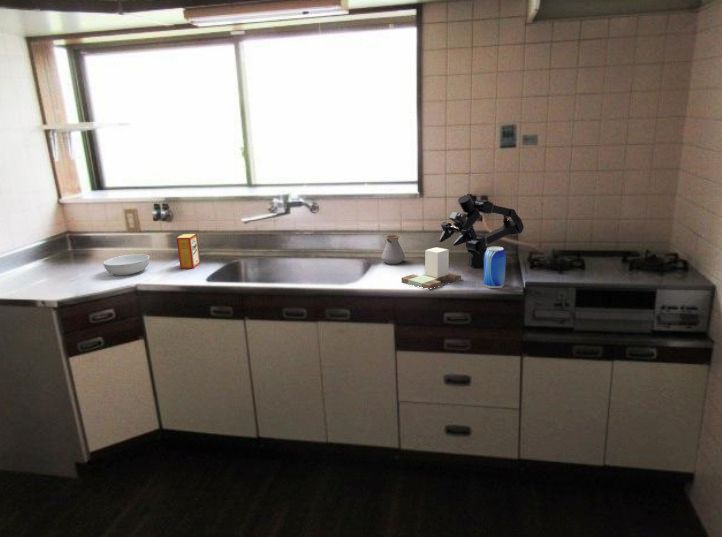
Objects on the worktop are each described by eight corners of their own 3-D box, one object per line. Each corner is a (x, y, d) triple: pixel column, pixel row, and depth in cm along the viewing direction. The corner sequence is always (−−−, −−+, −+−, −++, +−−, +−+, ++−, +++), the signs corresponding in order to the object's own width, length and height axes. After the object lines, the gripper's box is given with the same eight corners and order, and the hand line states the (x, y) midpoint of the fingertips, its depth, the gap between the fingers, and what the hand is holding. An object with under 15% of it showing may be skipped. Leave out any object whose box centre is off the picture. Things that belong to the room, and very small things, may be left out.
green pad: (422, 279, 230) (422, 275, 229) (436, 283, 224) (436, 278, 223) (408, 284, 224) (408, 279, 224) (422, 288, 218) (422, 283, 218)
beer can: (492, 282, 223) (493, 244, 218) (508, 286, 216) (510, 248, 212) (479, 286, 218) (480, 248, 213) (495, 290, 211) (497, 251, 207)
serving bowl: (127, 265, 272) (125, 252, 271) (160, 268, 266) (158, 254, 264) (95, 277, 254) (92, 263, 252) (130, 280, 247) (128, 265, 245)
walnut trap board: (433, 272, 240) (433, 268, 239) (461, 279, 228) (461, 275, 227) (401, 282, 227) (401, 277, 227) (429, 290, 215) (429, 285, 215)
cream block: (436, 271, 234) (436, 247, 231) (448, 274, 229) (448, 249, 226) (425, 274, 230) (425, 250, 227) (437, 277, 224) (437, 252, 221)
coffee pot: (383, 259, 266) (382, 229, 262) (406, 259, 264) (406, 229, 260) (375, 270, 246) (375, 239, 242) (400, 271, 244) (400, 239, 240)
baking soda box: (187, 264, 271) (183, 233, 267) (200, 263, 271) (196, 233, 267) (180, 269, 262) (176, 237, 258) (193, 268, 262) (189, 237, 258)
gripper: (447, 204, 241) (425, 226, 237) (477, 209, 226) (454, 233, 222) (457, 222, 247) (435, 245, 242) (486, 228, 232) (464, 252, 227)
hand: (446, 243), depth 233 cm, fingers open, 9 cm apart
